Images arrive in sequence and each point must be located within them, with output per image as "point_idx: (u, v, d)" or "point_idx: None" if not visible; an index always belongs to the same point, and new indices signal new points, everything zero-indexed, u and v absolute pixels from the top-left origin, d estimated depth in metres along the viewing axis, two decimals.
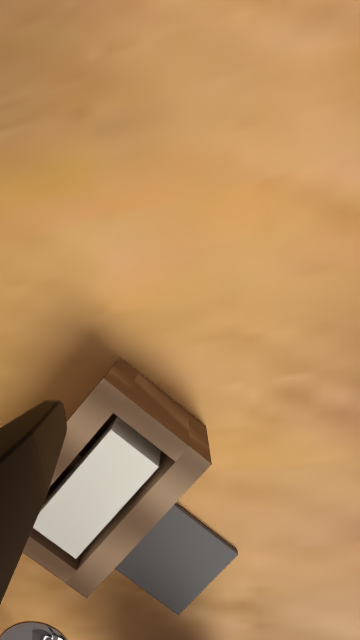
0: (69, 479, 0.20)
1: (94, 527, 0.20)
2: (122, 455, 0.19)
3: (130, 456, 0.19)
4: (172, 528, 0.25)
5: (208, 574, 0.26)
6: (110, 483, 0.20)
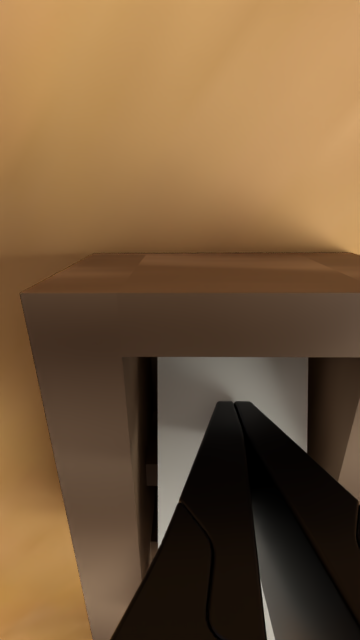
0: (160, 514, 0.08)
1: None
2: (221, 382, 0.08)
3: (237, 372, 0.08)
4: None
5: None
6: None
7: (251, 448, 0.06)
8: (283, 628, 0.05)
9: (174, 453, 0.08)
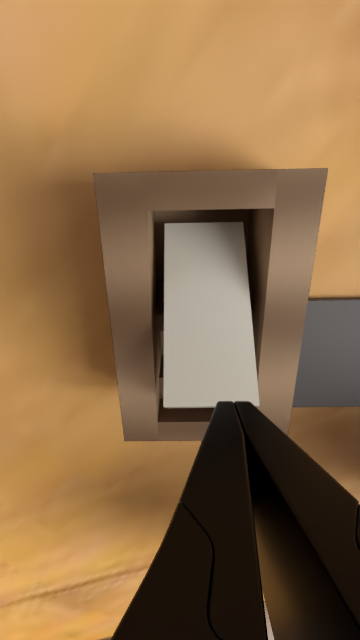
0: (165, 306, 0.14)
1: (242, 341, 0.13)
2: (198, 238, 0.15)
3: (206, 233, 0.15)
4: (329, 326, 0.19)
5: None
6: (213, 274, 0.14)
7: (250, 448, 0.06)
8: (282, 628, 0.05)
9: (173, 273, 0.14)
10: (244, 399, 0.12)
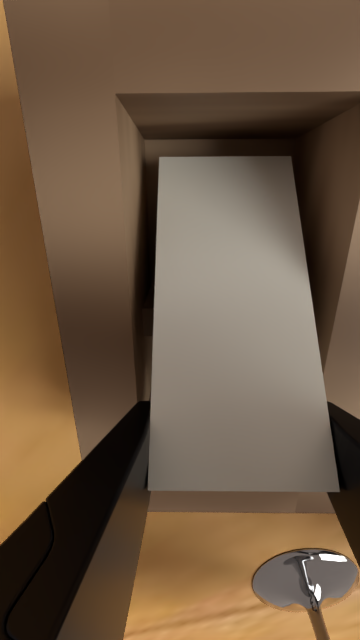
0: (157, 293, 0.08)
1: (299, 361, 0.07)
2: (216, 181, 0.09)
3: (230, 173, 0.09)
4: None
5: None
6: (241, 240, 0.08)
7: (354, 449, 0.06)
8: None
9: (172, 237, 0.08)
10: (308, 478, 0.06)
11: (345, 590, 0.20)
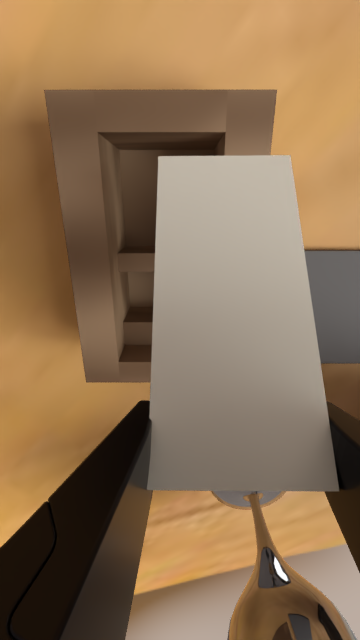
0: (156, 292, 0.08)
1: (298, 360, 0.07)
2: (215, 179, 0.09)
3: (229, 172, 0.09)
4: None
5: None
6: (240, 240, 0.08)
7: (352, 449, 0.06)
8: None
9: (172, 237, 0.08)
10: (308, 477, 0.06)
11: None
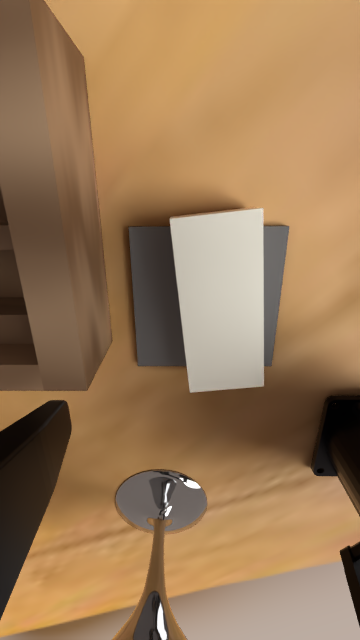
0: (182, 316, 0.14)
1: (253, 341, 0.15)
2: (210, 236, 0.13)
3: (219, 228, 0.13)
4: (172, 262, 0.15)
5: (269, 287, 0.16)
6: (227, 280, 0.14)
7: None
8: None
9: (186, 282, 0.14)
10: (252, 383, 0.16)
11: (195, 510, 0.23)
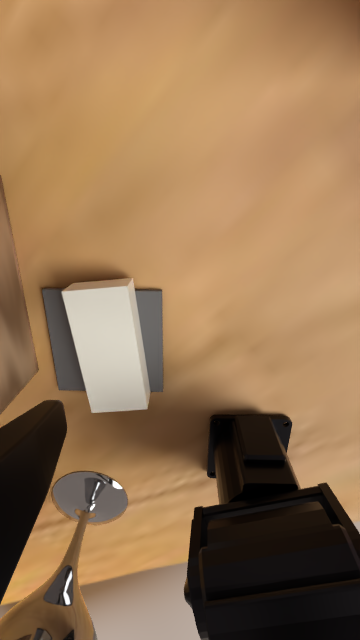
0: (78, 357, 0.19)
1: (134, 376, 0.20)
2: (92, 303, 0.18)
3: (98, 298, 0.18)
4: None
5: (153, 334, 0.21)
6: (108, 333, 0.19)
7: None
8: None
9: (79, 334, 0.19)
10: (138, 407, 0.21)
11: (117, 504, 0.28)
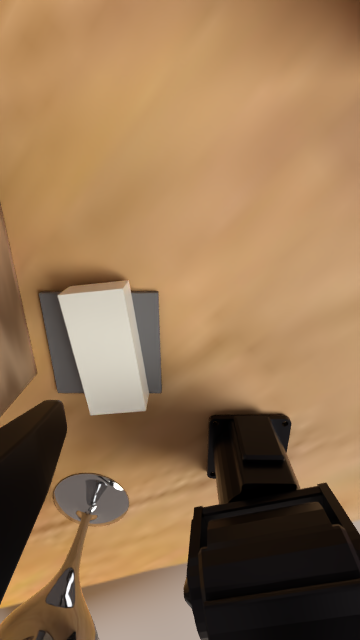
0: (76, 360, 0.19)
1: (132, 378, 0.20)
2: (88, 306, 0.18)
3: (94, 301, 0.18)
4: None
5: (150, 335, 0.21)
6: (105, 336, 0.19)
7: None
8: None
9: (76, 337, 0.19)
10: (136, 408, 0.21)
11: (118, 506, 0.28)
